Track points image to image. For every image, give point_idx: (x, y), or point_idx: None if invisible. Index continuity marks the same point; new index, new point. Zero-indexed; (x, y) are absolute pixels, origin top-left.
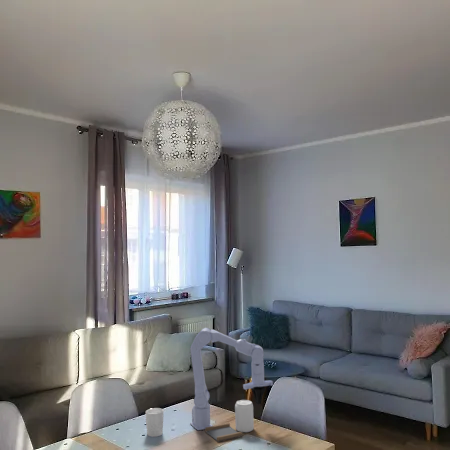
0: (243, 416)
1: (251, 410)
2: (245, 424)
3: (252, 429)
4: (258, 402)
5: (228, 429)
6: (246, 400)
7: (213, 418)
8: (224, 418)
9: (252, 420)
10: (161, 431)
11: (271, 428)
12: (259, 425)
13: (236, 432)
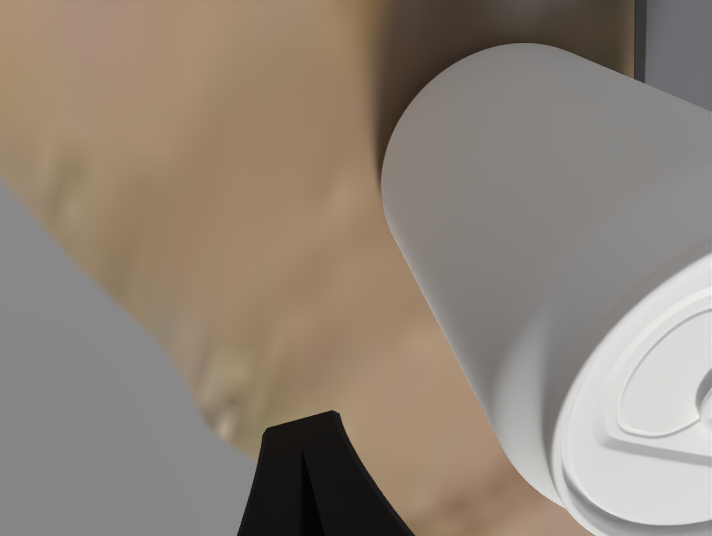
0: (706, 110)
1: (571, 179)
2: (595, 65)
3: (427, 86)
4: (344, 432)
5: None
6: (608, 527)
7: None
8: None
9: (464, 129)
10: None
11: (105, 119)
12: (258, 267)
13: (668, 53)
